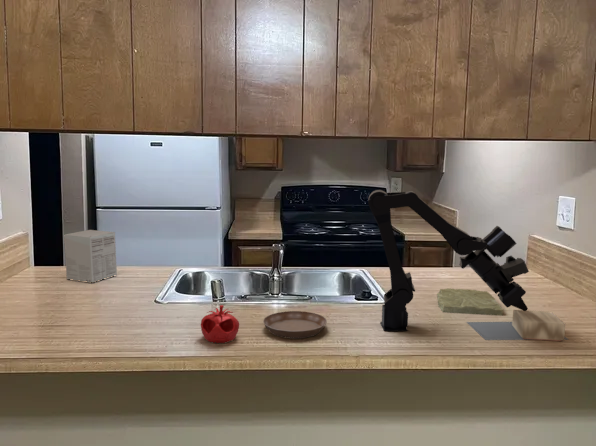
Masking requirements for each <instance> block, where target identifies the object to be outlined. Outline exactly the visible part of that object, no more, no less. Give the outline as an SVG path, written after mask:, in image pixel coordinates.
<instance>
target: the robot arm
mask: <svg viewBox="0 0 596 446" xmlns="http://www.w3.org/2000/svg"><path fill="white" fill-rule="evenodd" d="M368 207H369V209H370V211H371V213H372V216H373V218H374V220H375V222H376V224H377V226H378V230H379V233H380V234H379V235H380V237H381V241H382V245H383V249H384V253H385V257H386V261H387V264H388V269H389V272H390V273H389V275H390V287H391V288H390V289H389V290H388V291H386V292H385V293H384V294H383V303H384V304H382V306H381V321H380V323H379V324H380V326H381V328H382V330H383V331H384V332H407V331H408V326H409V325H408V324H409V312H408V311H407V307H406V306H407V305H408V304H409V303H411V302H412V301H413V298H414V292H416V288H415V285H414V283H413V278H412V277H413V276H412V274H411V272H410V271H409V272H407V273H406V272H405V270H404V267H403V264H402V260H401V257H400V253H399V248H398V245H397V240H396V238H395V233H394V229H393V225H392V217H391V216H392V215H391V214H392V213H391V209H398V208H406V207H408V208H410V209H411V210H412V211H413V212H415V213H416V214H417V215H418V216H419V217H420V218H421V219H423V220H424V221H425V222H427V223H428V224H429V225H430V226H431V227H432V228H433V229H434V230H435V231H437V232H438V233H440V235H441V237H442V238H444V240H445V241H446V242H447V243H448V244H449V246H450V247H451V248H452V250H453V251H454V252H455V253H456V254H457V255H459V256H460V257H459V265H458V266H460V268H461V269H465V268H466V267H468V266H469V267H470V268H471V269H472V270H473V272H474V273H476V275H477V276H478V277H479V278H480V279H481V281H483V282H484V283H485V284H486V285H487V286H488V288H490V290H491V291H492V292H494V293H495V294H496V295H497V297H498V299H499V301H500V302H501V303H502V304H503V305H504V306H505V307H506V308H510V307H511V306H512V307H515V308H517V309H518V310H523V311H526V310H527V311H528V309H529V308H528V306H527V305H526V303H525V301H524V300H523V298H522V297H523V296H525V295H526V293H527V290H525V289H524V288H523V287H522V286H521V285H520V284H519V283H517V282H515V281H514V280H515V279H514V278H515V277H518V276H520V275H523V274H524V275H525V274H528V273H530V270H529V268H528V266H527V264H526V261H525V260H524V259H523V258H522V257H517V258H515V257H514V256H513V255H509V256H506V258H505V262H504V263H503V264H502V265H500V264H499V262H496V261H495V260H494V259H493V258H496V257H497V258H502V257H503V256H504V255H505V254H506V253H507V252H508V251H510V250H512V249H513V248H514V247H515V246H516V245H517V242H516V241H515V240H514V239H513V237H512V236H511V235H509V234H508V233H506V232H505V231H504V230H503V229H502V228H501V227H500V226H498V225H496V226H495V227H494V228H493V229H492V230H491V231H490V232H489V233H488V234H487V235H485V236H484V237H483V238H482V237H479V236H472V235H470V234H469V233H467V232H466V231H464V230H462V229H461V228H459V227H458V226H455V225H454V224H452V223H451V222H449V221H447V220H446V219H445V218H444V217H442V215H440V214H439V213H438V212H437V211H436V210H435V209H433V208H432V207H431V205H429V204H428V203H426V202H425V201H424V200H423V199H421V198H420V196H418V195H417V194H416V192H414V191H412V190H409V191H398V192H396V191H395V192H394V191H393V192H391V191H390V192H386V191H384V190H382V189H375V190H373V191H372V192H371V193H370V194H369V196H368ZM487 251H488V253H489V254H490V255H491V256H492V257H493V258H492V257H491V256H490V255H489V254H488V253H487Z"/></svg>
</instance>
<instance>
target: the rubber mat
mask: <svg viewBox="0 0 596 446" xmlns="http://www.w3.org/2000/svg"><path fill="white" fill-rule="evenodd" d="M466 324H468V326H470V327H471V328H472V329H473V330H474V331H475V332H476V333H477V334H478V335H479V336H481V338H483V339H484V340H485V341H535V340H534V339H523V338H522V337H521V336H520V335H519V333H518V332H517V331H516V329H515V328H514V327H513V326H512V321H466ZM565 340H566V341H567V340H568V341H570V340H569V338H567V337H566V336H564V340H563V341H565Z"/></svg>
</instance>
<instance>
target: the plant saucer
mask: <svg viewBox="0 0 596 446" xmlns="http://www.w3.org/2000/svg"><path fill="white" fill-rule="evenodd" d="M262 321H263V324H264V326H265V328H266V329H267V330H268V331H269V332H270V333H271V334H272V335H274V336H276V335H277V337H281V338H284V337H286V338H285V339H305V337H306V338H309V337H313V336H316V335H318V334H319V333H321V331H322V330H323V329H324V327H325V326H326V324H327V317H325V316H323V315H321V314H319V313H315V312H310V311H301V310H288V311H287V310H286V311H279V312H276V313H272V314H268V315H267V316H266V317H265V316H264V318H263V320H262Z"/></svg>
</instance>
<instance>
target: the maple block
mask: <svg viewBox="0 0 596 446" xmlns="http://www.w3.org/2000/svg"><path fill="white" fill-rule="evenodd" d="M511 322H512V326H513V327H514V328H515V329H516V331H517V332H518V333H519V335H520V336H521V337H522V338H523V339H534V340H533V341H554V342H555V341H557V342H562V341H565V340H564V337H566V336H565V335H566V334H565V333H566V325H567V324H566V323H565V322H564V321H563V320H562V319H561V318H560V317H559V316H558V315H557V314H555V313H554V311H544V310H543V311H542V310H528V309H527V310H526V311H523V310H521V309H513V310H512V320H511Z"/></svg>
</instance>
